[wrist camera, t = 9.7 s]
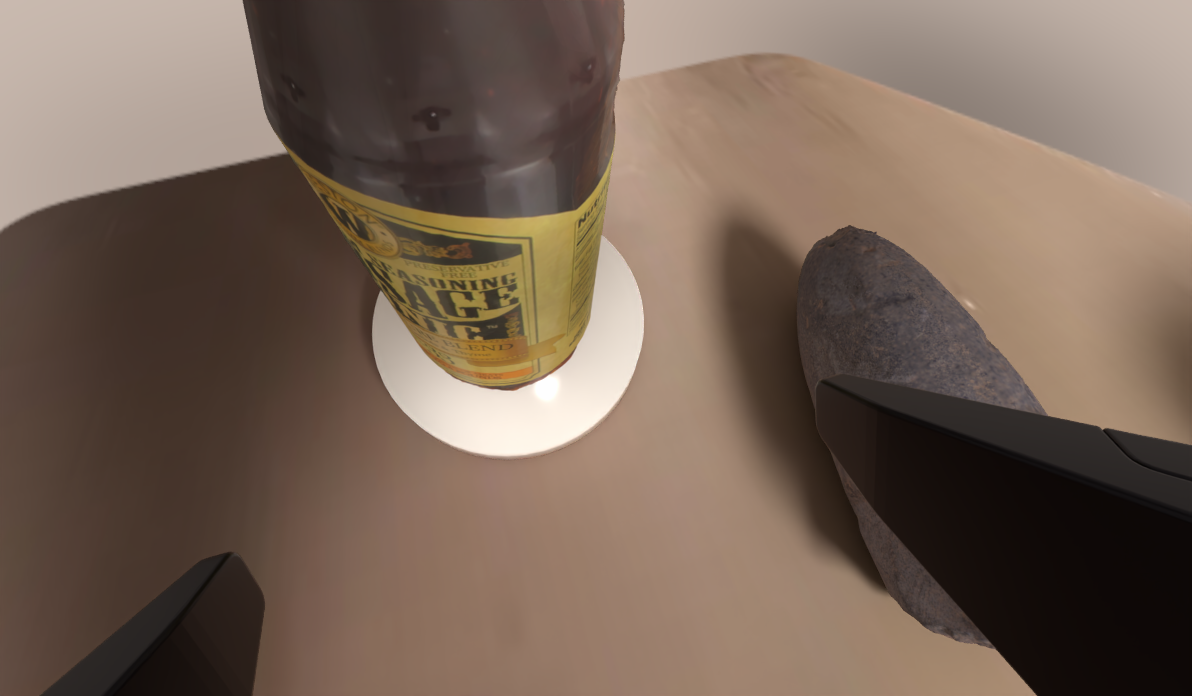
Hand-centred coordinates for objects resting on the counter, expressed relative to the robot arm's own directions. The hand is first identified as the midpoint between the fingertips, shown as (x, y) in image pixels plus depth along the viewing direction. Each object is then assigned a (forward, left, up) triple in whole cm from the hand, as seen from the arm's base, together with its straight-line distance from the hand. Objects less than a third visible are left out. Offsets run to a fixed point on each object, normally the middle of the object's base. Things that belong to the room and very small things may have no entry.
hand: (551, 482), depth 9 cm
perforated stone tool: (-11, -4, -12) cm, 17 cm away
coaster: (+3, -7, -12) cm, 14 cm away
